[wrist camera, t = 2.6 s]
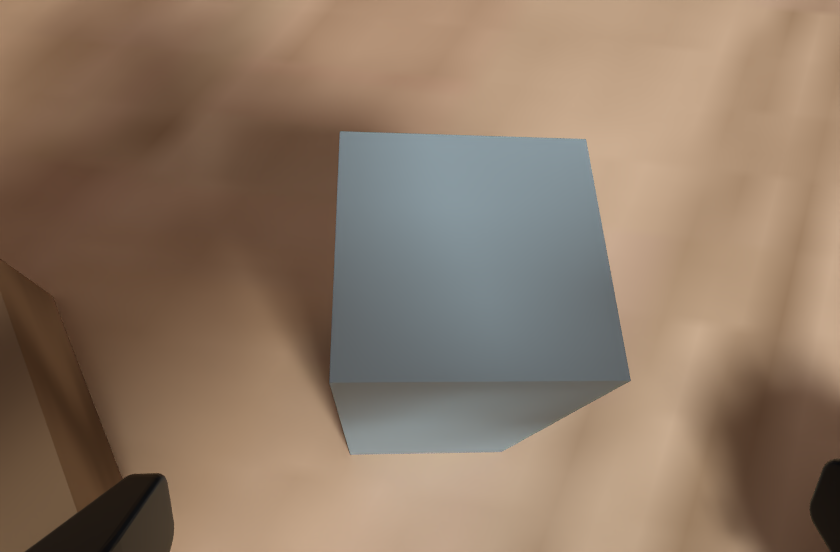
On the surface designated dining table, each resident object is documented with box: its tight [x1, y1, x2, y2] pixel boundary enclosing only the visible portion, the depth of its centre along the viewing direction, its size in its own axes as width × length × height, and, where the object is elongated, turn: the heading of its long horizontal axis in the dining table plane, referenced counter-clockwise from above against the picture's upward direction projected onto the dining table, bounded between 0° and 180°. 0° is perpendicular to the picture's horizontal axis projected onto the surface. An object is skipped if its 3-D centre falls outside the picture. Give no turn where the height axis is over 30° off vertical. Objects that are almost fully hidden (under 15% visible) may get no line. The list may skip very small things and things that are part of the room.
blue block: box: [329, 131, 631, 455], centre depth 15 cm, size 5×5×10 cm
